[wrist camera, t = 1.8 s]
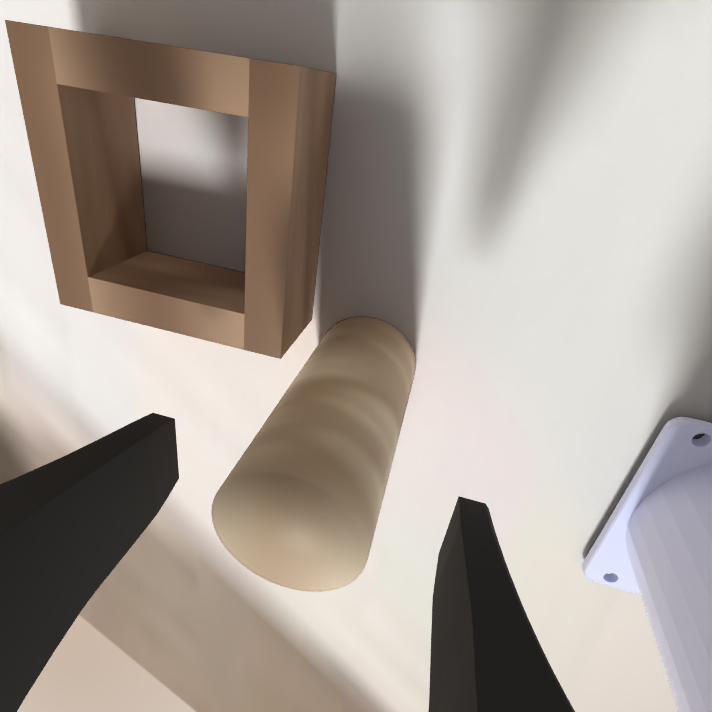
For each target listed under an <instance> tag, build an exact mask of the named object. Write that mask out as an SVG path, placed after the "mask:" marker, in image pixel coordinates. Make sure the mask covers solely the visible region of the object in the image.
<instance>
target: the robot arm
mask: <svg viewBox="0 0 712 712" xmlns="http://www.w3.org/2000/svg"><path fill="white" fill-rule="evenodd" d="M700 433H705V435H704V436H703V437H702V438H699V439H692V438H693V437H694V436H695V435H697V434H700ZM178 479H179V472H178V458H177V444H176V430H175V419H173V418H170V417H166V416H162V415H159V414H155V413H152V414H149V415H147V416H145V417H143V418H141V419H139V420H137V421H135V422H133V423H131V424H129V425H127V426H125V427H123V428H121V429H119V430H117V431H115V432H113V433H111V434H109V435H107V436H105V437H103V438H101V439H99V440H97V441H95V442H93V443H91V444H89V445H86V446H84V447H82V448H80V449H78V450H76V451H74V452H72V453H70V454H68V455H66V456H64V457H62V458H60V459H57V460H55V461H53V462H51V463H48V464H46V465H44V466H42V467H40V468H37V469H35V470H33V471H31V472H28V473H26V474H24V475H22V476H20V477H17V478H15V479H13V480H10V481H8V482H5V483H3V484H0V712H17V710H18V709H19V707H20V705H21V703H22V702H23V700H24V699H25V696H26V695H27V694H28V692H29V690H30V689H31V687H32V686H33V684H34V683H35V681H36V679H37V678H38V676H39V675H40V673H41V671H42V670H43V668H44V667H45V665H46V664H47V662H48V660H49V659H50V657H51V656H52V654H53V652H54V651H55V649H56V648H57V646H58V645H59V643H60V642H61V640H62V639H63V637H64V636H65V634H66V632H67V631H68V629H69V628H70V627H71V625H72V624H73V622H74V621H75V619H76V618H77V616H78V615H79V613H80V612H81V610H82V609H83V607H84V606H85V605H86V603H87V602H88V601H89V599H90V598H91V597H92V595H93V594H94V593H95V591H96V590H97V589H98V588H99V586H100V585H101V584H102V583H103V581H104V580H105V579H106V578H107V576H108V575H109V574H110V573H111V571H112V570H113V569H114V568H115V566H116V565H117V564H118V563H119V561H120V560H121V559H122V558H123V556H124V555H125V554H126V553H127V551H128V550H129V549H130V548H131V546H132V545H133V544H134V543H135V541H136V540H137V539H138V538H139V536H140V535H141V534H142V533H143V531H144V530H145V529H146V528H147V526H148V525H149V524H150V522H151V521H152V520H153V519H154V517H155V516H156V515H157V513H158V512H159V510H160V509H161V507H162V505H163V504H164V502H165V501H166V499H167V498H168V496H169V494H170V492H171V491H172V489H173V487H174V486H175V484H176V482H177V481H178ZM582 569H583V573H584V576H585V577H586V578H587V579H590V580H592V581H595V582H598V583H601V584H605V585H608V586H612V587H615V588H619V589H622V590H626V591H629V592H633V593H636V594H639V595H641V597H642V600H643V603H644V607H645V610H646V613H647V616H648V619H649V622H650V625H651V628H652V632H653V635H654V638H655V641H656V644H657V647H658V650H659V653H660V656H661V660H662V663H663V666H664V669H665V672H666V675H667V678H668V681H669V685H670V688H671V691H672V694H673V697H674V700H675V703H676V706H677V710H678V712H712V423H710V422H706V421H702V420H697V419H693V418H689V417H677V418H673V419H672V420H670V421H668V422H667V423H666V424H665V425H664V427H663V429H662V430H661V432H660V434H659V435H658V437H657V439H656V440H655V442H654V444H653V445H652V447H651V449H650V450H649V452H648V454H647V455H646V457H645V459H644V460H643V462H642V464H641V466H640V467H639V469H638V471H637V472H636V474H635V476H634V477H633V479H632V481H631V482H630V484H629V486H628V487H627V489H626V491H625V492H624V494H623V496H622V497H621V499H620V501H619V503H618V504H617V506H616V508H615V509H614V511H613V513H612V514H611V516H610V518H609V519H608V521H607V523H606V524H605V526H604V528H603V529H602V531H601V533H600V535H599V536H598V538H597V540H596V541H595V543H594V545H593V546H592V548H591V550H590V551H589V553H588V555H587V556H586V558H585V560H584V561H583V564H582ZM608 573H611V574H608ZM429 712H575V711H574V709H573V707H572V706H571V704H570V702H569V700H568V699H567V697H566V695H565V693H564V691H563V689H562V687H561V685H560V683H559V682H558V680H557V678H556V676H555V674H554V672H553V670H552V668H551V666H550V664H549V662H548V660H547V658H546V656H545V654H544V652H543V650H542V648H541V646H540V644H539V641H538V639H537V637H536V635H535V633H534V630H533V628H532V626H531V624H530V622H529V620H528V617H527V615H526V613H525V610H524V608H523V606H522V603H521V601H520V598H519V596H518V593H517V591H516V588H515V586H514V583H513V581H512V578H511V576H510V573H509V570H508V568H507V565H506V562H505V560H504V557H503V554H502V551H501V548H500V545H499V542H498V539H497V536H496V533H495V530H494V526H493V523H492V519H491V516H490V512H489V508H488V507H487V505H486V504H485V503H481V502H477V501H474V500H470V499H466V498H463V497H459V498H458V500H457V503H456V506H455V509H454V512H453V515H452V518H451V521H450V523H449V526H448V529H447V532H446V535H445V538H444V541H443V543H442V546H441V549H440V552H439V557H438V564H437V570H436V577H435V585H434V593H433V606H432V634H431V666H430V697H429Z"/></svg>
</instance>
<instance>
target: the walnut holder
mask: <svg viewBox="0 0 712 712" xmlns="http://www.w3.org/2000/svg"><path fill="white" fill-rule="evenodd" d="M5 22H6V28H7V33H8V38H9V43H10V48H11V53H12V58H13V63H14V69H15V74H16V79H17V84H18V89H19V94H20V99H21V104H22V109H23V115H24V120H25V125H26V130H27V135H28V140H29V145H30V150H31V156H32V161H33V166H34V171H35V176H36V181H37V186H38V191H39V197H40V202H41V207H42V212H43V217H44V222H45V227H46V232H47V237H48V243H49V248H50V253H51V258H52V263H53V268H54V273H55V278H56V284H57V289H58V294H59V299H60V304H63V305H67V306H71V307H75V308H79V309H83V310H87V311H91V312H95V313H99V314H103V315H107V316H111V317H115V318H119V319H123V320H127V321H131V322H135V323H139V324H143V325H147V326H151V327H155V328H159V329H163V330H167V331H171V332H175V333H179V334H183V335H187V336H191V337H195V338H199V339H203V340H207V341H211V342H215V343H219V344H223V345H227V346H231V347H235V348H239V349H243V350H247V351H251V352H255V353H259V354H264V355H268V356H272V357H276V358H280V359H281V358H282V356H283V355H284V354H285V353H286V351H287V350H288V349H289V348H290V346H291V345H292V344H293V343H294V341H295V340H296V339H297V338H298V336H299V335H300V334H301V333H302V331H303V330H304V329H305V328H306V326H307V325H308V324H309V322H310V321H311V320H312V312H313V302H314V292H315V282H316V272H317V262H318V252H319V242H320V232H321V222H322V212H323V202H324V192H325V182H326V172H327V162H328V152H329V142H330V132H331V122H332V112H333V102H334V92H335V82H336V74H335V73H330V72H326V71H321V70H316V69H311V68H306V67H301V66H296V65H289V64H283V63H276V62H270V61H264V60H257V59H251V58H245V57H238V56H232V55H225V54H219V53H213V52H206V51H200V50H194V49H187V48H181V47H174V46H168V45H162V44H155V43H149V42H143V41H136V40H130V39H123V38H117V37H111V36H104V35H98V34H92V33H85V32H79V31H73V30H66V29H60V28H53V27H47V26H41V25H34V24H28V23H22V22H15V21H9V20H5ZM134 97H135V98H140V99H146V100H152V101H157V102H163V103H169V104H175V105H180V106H186V107H192V108H197V109H203V110H209V111H214V112H220V113H226V114H232V115H237V116H243V117H248V159H247V210H246V260H245V273H244V272H239V271H235V270H230V269H226V268H221V267H217V266H212V265H208V264H204V263H199V262H195V261H190V260H186V259H181V258H177V257H172V256H168V255H163V254H159V253H155V252H150V251H147V240H146V229H145V218H144V206H143V195H142V184H141V172H140V161H139V150H138V138H137V127H136V116H135V104H134Z"/></svg>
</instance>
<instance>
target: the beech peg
mask: <svg viewBox="0 0 712 712" xmlns="http://www.w3.org/2000/svg"><path fill="white" fill-rule="evenodd" d="M415 370H416V361H415V356H414V352H413V349H412V347H411V345H410V343H409V342H408V340H407V339H406V338H405V336H404V335H403V334H402V333H401V332H400V331H399V330H397V329H396V328H395V327H393V326H392V325H390V324H388V323H387V322H384V321H382V320H379V319H376V318H371V317H353V318H348V319H345V320H343V321H341V322H339V323H337V324H335V325H334V326H333V327H332V328H331V329H330V330H329V331H328V332H327V333H326V334H325V336H324V337H323V339H322V340H321V342H320V343H319V345H318V346H317V347H316V349H315V350H314V352H313V353H312V355H311V356H310V358H309V359H308V361H307V362H306V363H305V365H304V366H303V368H302V369H301V371H300V372H299V374H298V375H297V377H296V378H295V380H294V381H293V382H292V384H291V385H290V387H289V388H288V390H287V391H286V393H285V394H284V396H283V397H282V398H281V400H280V401H279V403H278V404H277V406H276V407H275V409H274V410H273V412H272V413H271V415H270V416H269V417H268V419H267V420H266V422H265V423H264V425H263V426H262V428H261V429H260V431H259V432H258V433H257V435H256V436H255V438H254V439H253V441H252V442H251V444H250V445H249V447H248V448H247V450H246V451H245V452H244V454H243V455H242V457H241V458H240V460H239V461H238V463H237V464H236V466H235V467H234V468H233V470H232V471H231V473H230V474H229V476H228V477H227V479H226V480H225V482H224V483H223V485H222V486H221V487H220V489H219V490H218V492H217V493H216V496H215V498H214V500H213V504H212V521H213V524H214V528H215V530H216V533H217V535H218V537H219V539H220V540H221V542H222V543H223V545H224V546H225V548H226V549H227V550H228V551H229V552H230V553H231V555H232V556H233V557H234V558H235V559H236V560H238V561H239V562H240V563H241V564H242V565H243V566H245V567H246V568H247V569H249V570H250V571H252V572H253V573H255V574H256V575H258V576H260V577H262V578H264V579H266V580H268V581H270V582H272V583H275V584H278V585H280V586H283V587H287V588H290V589H295V590H300V591H309V592H322V591H330V590H335V589H338V588H341V587H344V586H346V585H348V584H350V583H351V582H353V581H354V580H355V579H357V577H358V576H359V575H360V574H361V573H362V571H363V570H364V568H365V566H366V563H367V560H368V556H369V552H370V548H371V544H372V540H373V536H374V532H375V528H376V524H377V520H378V517H379V513H380V509H381V505H382V501H383V497H384V493H385V489H386V485H387V481H388V477H389V473H390V469H391V466H392V462H393V458H394V454H395V450H396V446H397V442H398V438H399V434H400V430H401V426H402V422H403V418H404V414H405V411H406V407H407V403H408V399H409V395H410V391H411V387H412V383H413V379H414V375H415Z"/></svg>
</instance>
